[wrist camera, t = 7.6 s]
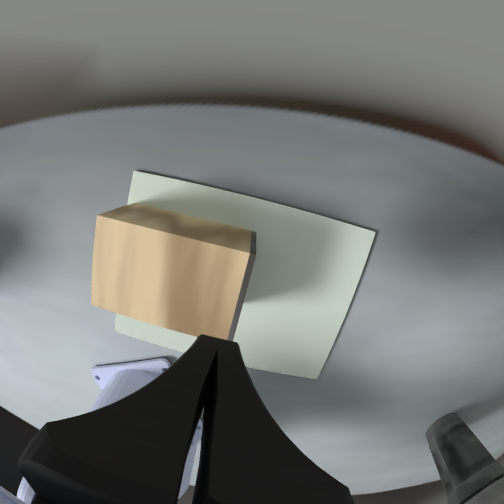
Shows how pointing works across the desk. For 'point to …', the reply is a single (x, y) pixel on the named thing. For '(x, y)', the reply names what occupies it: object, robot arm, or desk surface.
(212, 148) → the desk surface
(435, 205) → the desk surface
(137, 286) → the tan block
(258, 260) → the mat
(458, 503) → the beverage cup
